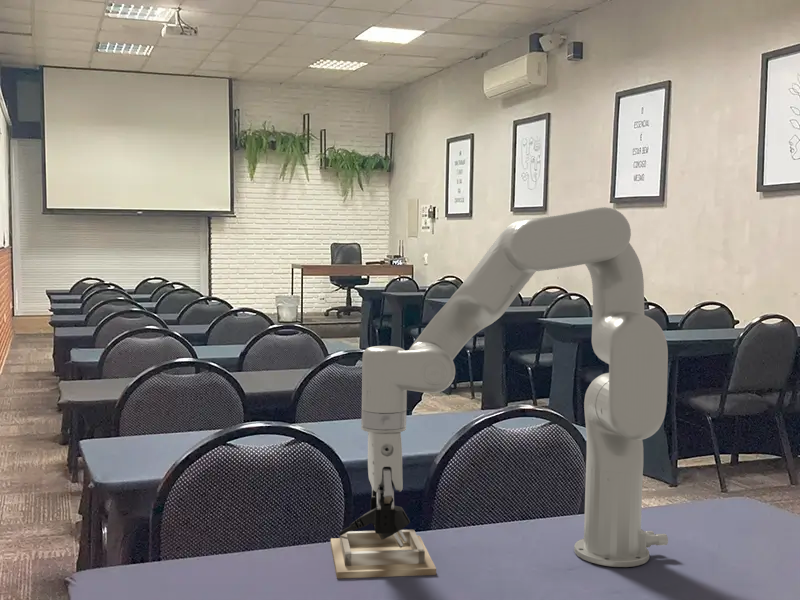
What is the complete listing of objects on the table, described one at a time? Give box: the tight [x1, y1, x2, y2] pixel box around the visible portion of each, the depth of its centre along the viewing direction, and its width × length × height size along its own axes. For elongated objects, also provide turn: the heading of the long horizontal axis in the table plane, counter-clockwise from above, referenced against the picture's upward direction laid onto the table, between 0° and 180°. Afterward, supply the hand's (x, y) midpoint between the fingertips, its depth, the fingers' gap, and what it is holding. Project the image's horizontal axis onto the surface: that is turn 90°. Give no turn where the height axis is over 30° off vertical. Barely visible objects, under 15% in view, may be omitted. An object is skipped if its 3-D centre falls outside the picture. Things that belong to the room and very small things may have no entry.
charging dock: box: [330, 529, 437, 579], centre depth 143 cm, size 16×16×3 cm
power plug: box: [338, 504, 411, 548], centre depth 144 cm, size 6×8×12 cm
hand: (382, 525), depth 143 cm, fingers closed on power plug, 5 cm apart
